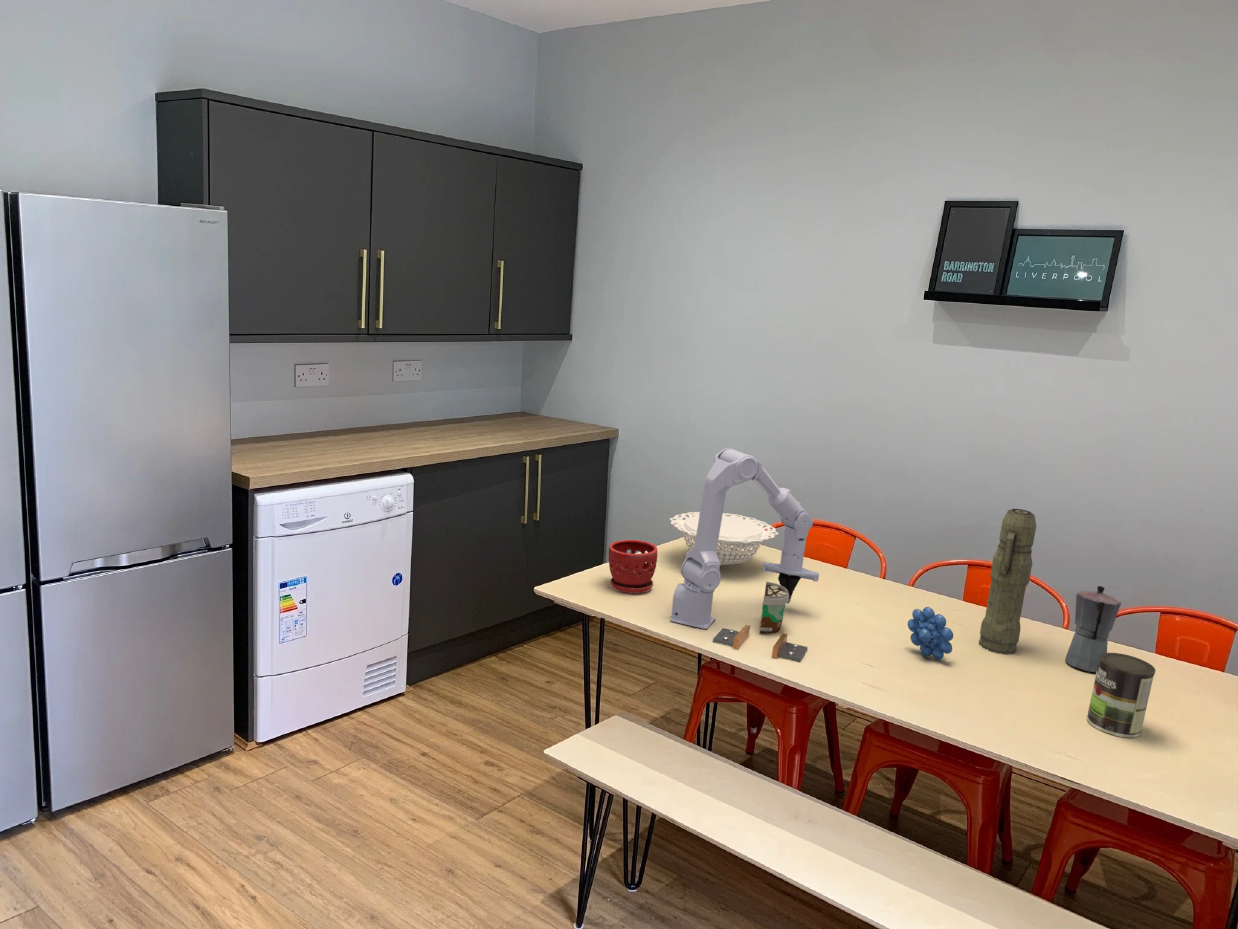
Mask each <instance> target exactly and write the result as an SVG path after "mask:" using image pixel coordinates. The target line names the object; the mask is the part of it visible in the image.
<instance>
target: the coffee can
mask: <svg viewBox="0 0 1238 929" xmlns="http://www.w3.org/2000/svg"><path fill="white" fill-rule="evenodd" d="M1155 674H1156V667H1155V666H1153V665H1152V664H1151V663H1149V662H1147V661H1146V660H1143V659H1141V658H1138V657H1135V656H1133V655H1129V654H1125V653H1117V652H1107V653H1102V654H1101V655H1099V663H1098V668H1097V672H1095V677H1094V682H1093V688H1092V692H1091V697H1090V702H1089V706H1088V710H1087V716H1086V722H1087V723H1088V724H1089V725H1090V726H1092V727H1093V728H1094V729H1096V730H1098V731H1100V732H1103V733H1104V734H1108V735H1110V736H1114V737H1119V738H1123V739H1124V738H1126V739H1134V738H1138V737H1140V736H1141V735H1142V728H1143V724H1144V719H1145V717H1146V712H1147V707H1148V703H1149V697H1150V694H1151V689H1152V685H1153V680H1154V676H1155Z"/></svg>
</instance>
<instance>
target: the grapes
mask: <svg viewBox="0 0 1238 929" xmlns="http://www.w3.org/2000/svg"><path fill="white" fill-rule="evenodd" d="M911 613H912V614H911V616H912V618H910V619H909V620H908V621H907V628H908V629H909V631H910V632H912V633H911V634H910V641H911V643H912V644H913V645H914V646H916V647H919V651H920V653H921V654H922V655H923V657H926V658H927V657H928V658H930V656H932V657H933V658H934V659H935V660H938V661H940V660H942V659H943V658H944V657H945V655H947V654H948V655H949V654H951V653H952V652H953V646H952V643H951V642H950V641H952V640H953V639H954V634H953V633H954V632H953V631H952V629H951V628H949V627H948V626H947V619H946V617H945V616H944V615H943V614H941V613H936V614H935V611H934V609H933V608H932V607H929V606H925V607H924V608H923V609H922V610H921V609H919V608H915V609H914V610H913V611H912V612H911Z"/></svg>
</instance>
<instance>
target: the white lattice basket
mask: <svg viewBox="0 0 1238 929" xmlns="http://www.w3.org/2000/svg"><path fill="white" fill-rule="evenodd" d="M699 516H700V511H690V512H687V513H686V512H685V513H683V512H682V513H681V514H676V515H674V516H673V517H670V518H669V521H670V525H673V528H675V529H677V531H680V532H682V533H683V538H684V539H683V540H684V541H685V546H687V548H688V551H690V550H692V549H693V548H694V546H695V540H696V534H697V528H698V522H699ZM776 530H777V529H776V528H775V527H773V526H772V525H771V524H769V523H767V522H765V521H763V520H759V519H757V518H754V517H749V516H744V515H742V514H736V513H735V514H734V513H730V512H729V513H728V512H727V513H725V512H723V515H722V521H721V527H720V533H719V539H718V545H717V551H716V553H717V556H718V559H719V561H720V567H721V566H724V565H727V566H728V565H735V564H736V565H737V564H742V563H745V562H747V561H749V560H750V559H753V557H754V555H756V554H757V552H758V550H759V549H760V547H761V543H762V542H763V541H769V539H774V538H775V536H777V535H779V532H777V531H776ZM718 548H719V549H718ZM751 548H752V549H751Z"/></svg>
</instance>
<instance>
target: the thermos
mask: <svg viewBox="0 0 1238 929" xmlns="http://www.w3.org/2000/svg"><path fill="white" fill-rule="evenodd" d="M1036 530H1037V522H1036V515H1035V514H1034V513H1033V512H1031V511H1029V510H1026V509H1021V508H1011V509H1009V510H1007V511H1006V513H1005V515H1004V517H1003V518H1002V522H1001V527H1000V533H999V543H998V544H997V549H996V551H995V553H994V554H993V556H992V557H993V558H992V564H991V570H990V579H991V581H990V587H989V593H988V599H987V602H986V603H987V604H986V610H985V615H984V618H983V619H982V621H981V625H980V630H979V634H980V637H979V641H978V645H979V646H980V645H981V646H982V649H984V648H985V649H984V650H986V649H988V650H987V651H989V652H992V651H993V652H992V653H995V652H997V653H996V654H1000V653H1002V654H1001V655H1012V653H1013V652H1015V651H1016V652H1017V646H1018V642H1019V640H1020V634H1021V616H1022V609H1023V605H1024V599H1025V594H1026V588H1027V586H1028V585H1029V583H1030V579H1031V574H1032V568H1033V558H1032V553H1033V552H1032V551H1033V550H1032V546H1033V545H1034V540H1035V535H1036ZM981 646H980V647H981ZM1016 652H1015V653H1016ZM1009 653H1010V654H1009ZM1013 654H1014V653H1013Z"/></svg>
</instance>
